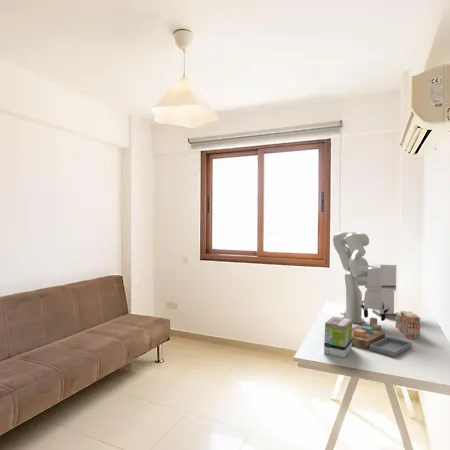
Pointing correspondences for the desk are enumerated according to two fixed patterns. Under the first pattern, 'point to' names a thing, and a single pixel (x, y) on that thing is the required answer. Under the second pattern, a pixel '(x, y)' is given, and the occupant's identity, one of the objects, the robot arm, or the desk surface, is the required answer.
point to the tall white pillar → (387, 287)
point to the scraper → (374, 324)
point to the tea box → (338, 336)
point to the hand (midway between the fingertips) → (374, 318)
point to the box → (390, 346)
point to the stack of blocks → (408, 324)
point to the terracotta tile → (359, 332)
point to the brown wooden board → (366, 338)
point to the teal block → (367, 329)
